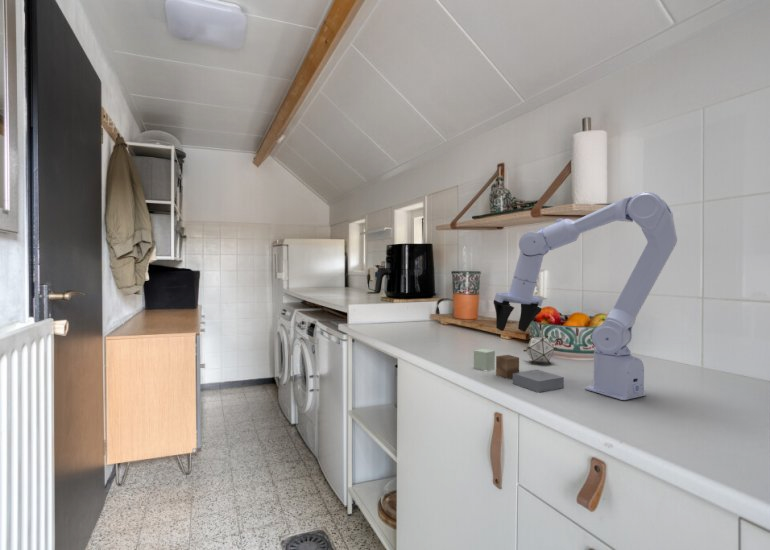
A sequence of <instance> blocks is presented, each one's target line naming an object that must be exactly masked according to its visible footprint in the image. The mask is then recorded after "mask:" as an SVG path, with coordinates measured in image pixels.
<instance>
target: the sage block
mask: <svg viewBox="0 0 770 550" xmlns="http://www.w3.org/2000/svg"><path fill="white" fill-rule="evenodd" d="M495 353H496V352H495V350H494V349H493V350H492V349H488V348H487V349H486V348H479V349H475V350H473V369H474V368H477V369H476V370H479V369H482V370H481V371H483V370H488V371H491V370H490V369H492V370H495V369H496V359H495V358H496V355H495ZM494 368H495V369H494Z"/></svg>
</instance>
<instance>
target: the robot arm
mask: <svg viewBox="0 0 770 550" xmlns="http://www.w3.org/2000/svg"><path fill="white" fill-rule="evenodd" d="M617 221H618V222H627V223H628V222H629V223H633V222H634V223H635V224H636V225H638V226H639V228H640V229H641V231H642V233H643V235H644V237H645V239H646V241H647V243H646V245H645V247H644V248H643V251H642V253H641V254H640V257H639V258H638V260H637V262H636V264H635V265H634V268H633V270H632V271H631V274H630V276H629V277H628V279H627V280H626V284H625V285H624V287H623V289H622V290H621V292H620V294H619V296H618V299H617V300H616V302H615V304H614V306H613V308H612V309H611V310H610V312H609V313H608V314H607V316H606V317H605V319H604V321H603V322H602V323H601V324H600V325H598V326H596V327H595V328H594V329H593V331H592V333H591V341H592V343H593V346H594V348H593V384H592V385H587V386H585V387H584V390H587V391H590V392H592V393H593V392H594V393H597V394H601V395H603V396H607V397H611V398H614V399H618V400H621V401H627V400H632V399H636V398H640V397H644V396H647V394H646V392H644V391H645V389H644V388H645V386H644V385H645V366H644V362H643V361H642V359H641V358H639V357H636V356H633V355H632V354H631V350H630V348H629V347H628V346H627V345H629V343H630V342H631V341H632V336H633V335H632V333H633V332H632V330H633V327H634V325H635V323H636V318H637V316H638V314H639V313H640V311H641V309H642V307H643V306H644V304H645V302H646V300H647V298H648V296H649V294H650V292H651V291H652V289H653V288H654V286H655V284H656V282H657V280H658V278H659V276H660V274H661V273H662V271H663V269H664V267H665V266H666V263H667V261H668V260H669V258H670V256H671V254H672V253H673V250H674V249H675V247H676V246H677V242H678V237H677V232H676V231H677V230H676V226H675V221H674V213H673V211H672V210H671V208H670V207H669V205H668V204H667V202H666V201H665V200H664V199H662V198H661V197H660V196H659V195H658V194H656V193H655V192H650V191H642V192H639V193H637V194H635V195H634V196H627V197H623V198H621V199H620V200H618V201H615V202H613V203H611V204H609V205H606V206H604V207H602V208H599V209H598V210H595V211H593V212H591V213H589V214H586V215H585V216H582V217H580V218H577V219H576V220H572V219H570V218H561V217H560V218H558V219H556V220H555V223H553V224H550V225H548V226H545V227H541V226H540V227H539V228H537V232H536V231H532V230H531V231H527V232H526V233H524V234H523V235H521V237H520V239H519V240H518V241H519V242H518V247H519V250H520V251H519V255H518V259H517V260H516V261H517V263H516V265H515V270H514V273H513V277H512V281H511V283H510V288H509V291H506V292H496V293H495V297H494V299H493V306H494V309H495V317H496V320H495V321H496V325H495V326H496V329H498V330H499V331H504V330H505V328H506V326H507V323H508V320H509V318H510V315H511V314H512V312H513V311H514V309H515V307H514V306H512V305H511V304H520V316H519V321H518V326H517V329H518V330H520V331H521V332H524V333H525V332H526V331H527V330H528V328H529V326H530V324H531V323H532V321H534V319H535V318H536V316H537V315H538V314H540V313H541V312H542V309H543V308H542V307H541V306H542V305H543V301H544V298H541V297H539V296H533V295H534V292H535V288H536V284H537V281H538V279H539V274H540V270H541V267H542V264H543V258H544V256H545V255H547V254H548V253H549V251H553V250H555V249H558V248H561V247H563V246H566V245H568V244H572V243H574V242H576V241H577V240H578V238H579V236H580V234H582V233H585V232H587V231H591V230H594V229H597V228H599V227H602V226H605V225H608V224H611V223H613V222H617Z"/></svg>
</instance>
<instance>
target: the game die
mask: <svg viewBox="0 0 770 550" xmlns="http://www.w3.org/2000/svg"><path fill="white" fill-rule="evenodd" d="M529 338H530V339H529V341H528V344H527V346H526V349H523V352H526V353H527V355H528V356H529V358H530V359H531V365H533V364H534V363H539V362H540V363H548V364H549V365H551V363H552V362H551V358H552V357H553V354H554V351H555V350H558V347H555V346H554V345H553V344H552V343H551V342H550V340H549V339H548V338H549V335H546V336H544V337H541V336H539V337H538V336H536V337H535V336H534V337H533V336H532V335H531V334H529Z"/></svg>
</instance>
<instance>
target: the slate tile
mask: <svg viewBox="0 0 770 550" xmlns="http://www.w3.org/2000/svg"><path fill="white" fill-rule="evenodd" d="M564 379H565V377H564V376H560V375H557V374H553V373H551V372H546V371H543V370H540V369H533V370H525V371H519V372H518V373H513V378H512V384H513V385H515V384H516V385H515V386H518V385H519V387H521V386H522V388H524V387H525V389H527V388H528V389H527V390H530V389H531V390H530V391H533V390H534V391H533V392H536V391H537V393H538V392H539V393H542V392H541V391H544V392H549V391H548V390H550V391H555V390H559V388H561V389H564V386H565V385H564V382H565V381H564Z"/></svg>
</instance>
